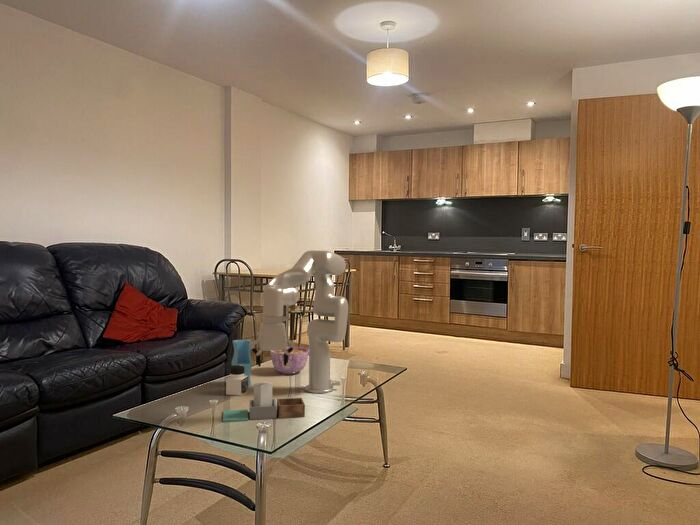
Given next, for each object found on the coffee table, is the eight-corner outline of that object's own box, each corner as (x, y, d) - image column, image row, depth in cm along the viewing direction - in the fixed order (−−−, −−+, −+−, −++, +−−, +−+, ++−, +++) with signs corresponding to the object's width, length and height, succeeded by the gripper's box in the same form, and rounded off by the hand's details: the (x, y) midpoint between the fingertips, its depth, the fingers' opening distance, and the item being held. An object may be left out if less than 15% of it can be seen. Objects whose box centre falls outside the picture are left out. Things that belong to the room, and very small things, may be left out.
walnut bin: (301, 409, 204) (301, 397, 204) (304, 416, 195) (304, 404, 195) (276, 410, 202) (277, 398, 202) (278, 418, 193) (279, 406, 193)
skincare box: (265, 411, 200) (265, 380, 200) (272, 414, 197) (273, 382, 197) (252, 415, 196) (252, 383, 195) (260, 418, 193) (260, 385, 192)
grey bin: (274, 410, 202) (274, 398, 202) (276, 418, 193) (276, 406, 193) (249, 411, 200) (249, 400, 200) (250, 419, 191) (250, 407, 191)
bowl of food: (284, 379, 251) (284, 355, 251) (261, 371, 266) (262, 349, 266) (316, 373, 265) (317, 350, 264) (293, 366, 279) (293, 345, 279)
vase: (234, 387, 236) (235, 343, 235) (231, 383, 243) (231, 340, 242) (251, 385, 239) (252, 342, 238) (248, 381, 246) (248, 339, 246)
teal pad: (247, 410, 201) (247, 409, 201) (248, 420, 189) (248, 419, 189) (223, 411, 199) (223, 410, 199) (222, 422, 187) (222, 420, 187)
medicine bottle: (241, 396, 221) (241, 367, 221) (225, 394, 223) (226, 366, 223) (248, 391, 228) (248, 364, 228) (232, 390, 230) (233, 363, 230)
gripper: (294, 318, 202) (293, 362, 202) (249, 319, 198) (248, 364, 198) (297, 321, 195) (296, 366, 195) (250, 321, 191) (249, 368, 191)
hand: (272, 365), depth 196 cm, fingers open, 9 cm apart
